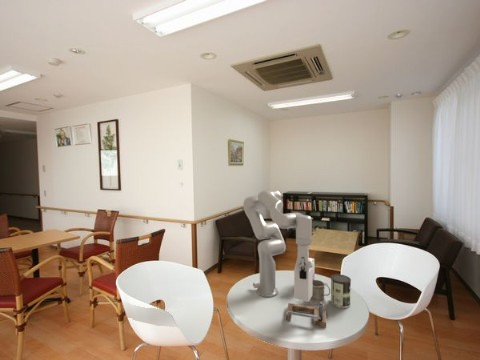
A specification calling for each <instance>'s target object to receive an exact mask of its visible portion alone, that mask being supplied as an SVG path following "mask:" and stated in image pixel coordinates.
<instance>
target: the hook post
mask: <svg viewBox="0 0 480 360" xmlns="http://www.w3.org/2000/svg"><path fill="white" fill-rule="evenodd" d="M318 308H319V316H320V317H321V319H319V320H320V321H322V320H323V308H324V304H323V302H319V304H318Z"/></svg>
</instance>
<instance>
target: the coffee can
mask: <svg viewBox="0 0 480 360" xmlns="http://www.w3.org/2000/svg"><path fill="white" fill-rule="evenodd" d="M351 283H352V279H351V277H349V276H348V275H344V274H340V273H339V274H337V273H335V274H332V275H331V276H330V303H331V304H332V306H335V307H337V308H341V309H343V308H344V309H346V308H347V309H348V308H349V307H350V306H351V290H352V289H351Z"/></svg>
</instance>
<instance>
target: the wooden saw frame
mask: <svg viewBox="0 0 480 360" xmlns="http://www.w3.org/2000/svg"><path fill="white" fill-rule="evenodd" d="M288 311H292V312H300V313H306V314H312V315H316V316H319V306H318V307H316V306H310V305H303V304H298V303H291V302H288V303H287V308H286V311H285V321H287V313H288ZM292 317H293V315H291V314H290V315H289V321H287V322H291V321H292ZM313 326H314V327H320V328H325V329H326V328H327V309H326V308H325V307H323V320H322V321H320V320H319V319H315V318H313Z"/></svg>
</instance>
